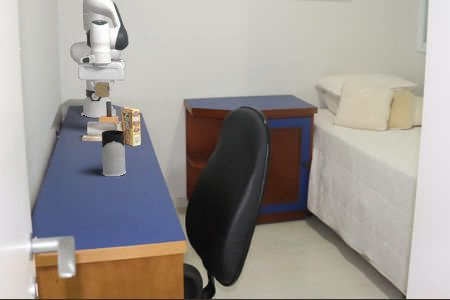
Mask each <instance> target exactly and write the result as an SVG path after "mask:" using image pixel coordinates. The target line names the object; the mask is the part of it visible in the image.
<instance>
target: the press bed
mask: <svg viewBox="0 0 450 300" xmlns="http://www.w3.org/2000/svg"><path fill="white" fill-rule="evenodd" d="M86 125H87V126H86V127H87V128H86V129H87V131H86V133H84V135H83V136H82V137H81V141H82V142H102V132H104V131H108V130H119V131H122V125H121V121H119V123H118V124H117V129H116V122H99V121H87V123H86Z"/></svg>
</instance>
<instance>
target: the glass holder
mask: <svg viewBox="0 0 450 300" xmlns="http://www.w3.org/2000/svg"><path fill="white" fill-rule="evenodd" d="M125 144H126V143H124V132H123V131H119V130H108V131H104V132H102V141H101V159H102V160H101V162H102V172H101V175H102V174H103V175H105V176H120V175H123V174H125V173H126V172H127V171H126V170H127V169H126V151H125V150H126V149H125V148H126V147H125Z"/></svg>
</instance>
